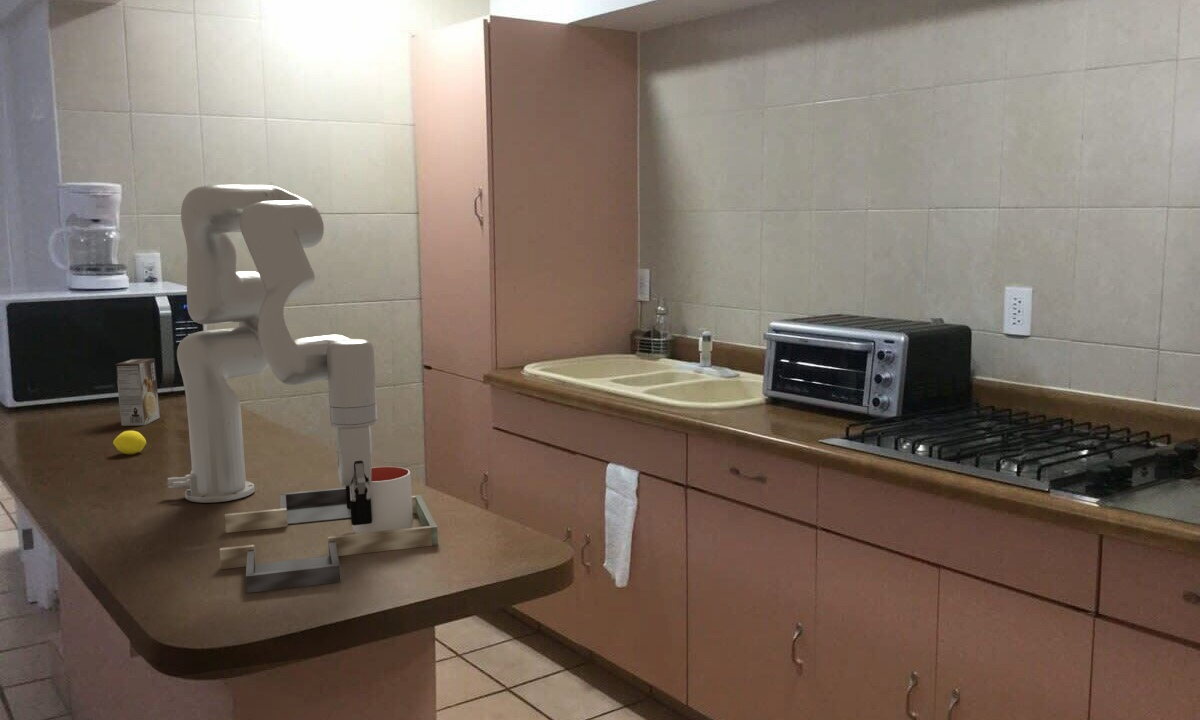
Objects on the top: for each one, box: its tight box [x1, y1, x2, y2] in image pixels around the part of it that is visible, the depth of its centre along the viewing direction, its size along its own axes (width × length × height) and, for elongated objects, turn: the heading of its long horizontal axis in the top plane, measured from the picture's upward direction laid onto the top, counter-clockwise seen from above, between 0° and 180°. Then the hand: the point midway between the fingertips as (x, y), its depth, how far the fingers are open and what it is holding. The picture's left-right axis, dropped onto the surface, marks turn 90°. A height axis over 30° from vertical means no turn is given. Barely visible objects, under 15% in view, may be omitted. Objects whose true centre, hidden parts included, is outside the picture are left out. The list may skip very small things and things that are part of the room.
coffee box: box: [115, 358, 161, 427], centre depth 272 cm, size 9×6×16 cm
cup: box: [350, 466, 414, 534], centre depth 177 cm, size 10×10×10 cm
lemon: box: [112, 430, 147, 455], centre depth 238 cm, size 7×5×5 cm
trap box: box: [219, 487, 439, 594], centre depth 175 cm, size 33×44×3 cm
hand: (359, 515), depth 176 cm, fingers open, 9 cm apart
